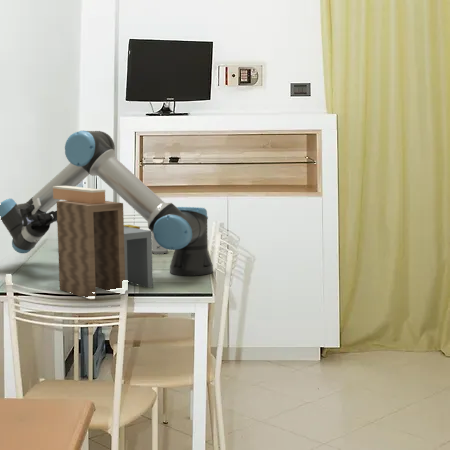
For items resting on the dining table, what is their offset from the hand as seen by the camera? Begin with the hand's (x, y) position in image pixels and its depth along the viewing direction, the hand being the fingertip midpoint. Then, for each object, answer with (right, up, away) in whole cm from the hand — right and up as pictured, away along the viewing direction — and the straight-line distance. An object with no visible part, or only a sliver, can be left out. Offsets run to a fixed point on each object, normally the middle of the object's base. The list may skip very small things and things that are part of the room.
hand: (58, 200), depth 247 cm
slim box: (+8, 0, -10) cm, 13 cm away
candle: (+12, -19, +73) cm, 77 cm away
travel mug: (+28, -20, +63) cm, 71 cm away
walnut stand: (+13, -29, -12) cm, 34 cm away
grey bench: (+21, -27, -1) cm, 35 cm away
